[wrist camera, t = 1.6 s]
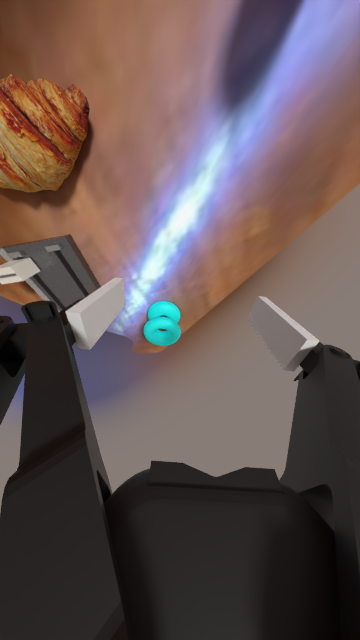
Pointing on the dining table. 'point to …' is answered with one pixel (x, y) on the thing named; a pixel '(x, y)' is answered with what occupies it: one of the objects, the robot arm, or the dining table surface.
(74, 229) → the dining table surface
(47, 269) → the console
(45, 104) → the croissant
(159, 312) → the donuts
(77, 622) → the robot arm
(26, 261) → the cream fader
